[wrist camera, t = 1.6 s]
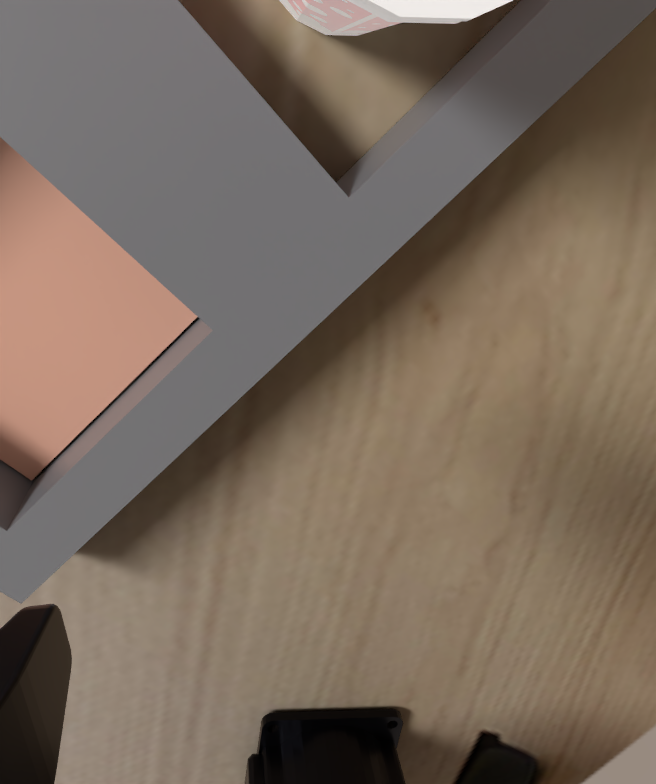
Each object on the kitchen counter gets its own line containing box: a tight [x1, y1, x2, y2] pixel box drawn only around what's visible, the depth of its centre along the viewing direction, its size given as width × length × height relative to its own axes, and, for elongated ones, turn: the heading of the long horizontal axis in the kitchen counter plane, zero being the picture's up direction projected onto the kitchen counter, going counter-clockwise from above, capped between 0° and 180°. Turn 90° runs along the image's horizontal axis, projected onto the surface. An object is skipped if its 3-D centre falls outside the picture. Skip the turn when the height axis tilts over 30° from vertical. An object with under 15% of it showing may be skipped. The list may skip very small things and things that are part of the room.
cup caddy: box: [0, 0, 656, 603], centre depth 17 cm, size 27×13×3 cm, turn 133°
